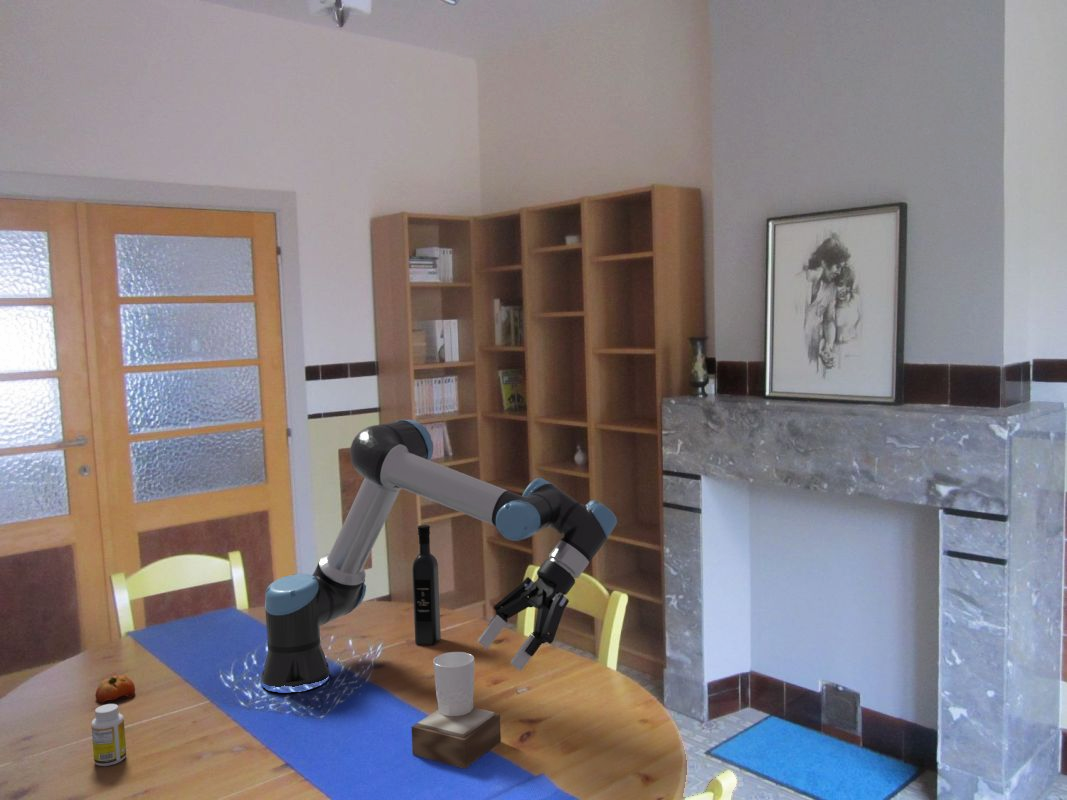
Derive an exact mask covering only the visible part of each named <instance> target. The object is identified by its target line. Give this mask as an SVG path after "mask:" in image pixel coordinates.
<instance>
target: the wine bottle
mask: <svg viewBox="0 0 1067 800" xmlns="http://www.w3.org/2000/svg"><path fill="white" fill-rule="evenodd" d="M417 535H418V548H419V549H418V555H417V556H416V557H415V558H414V560H413V562H412V568H411V569H412V590H413V591H412V597H413V617H414V618H413V619H414V621H413V623H414V643H415V645H418V646H435V645H437V644H438V642H439V641H440V640H441V638H442V637H441V611H440V610H441V608H440V605H441V603H440V584H439V583H440V582H439V580H440V579H439V562H438V560H437V558H436V556H434V555H433V554H431V545H430V544H431V540H430V539H431V538H430V535H431V525H428V524H422V525H418V526H417Z"/></svg>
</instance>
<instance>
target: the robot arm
mask: <svg viewBox="0 0 1067 800" xmlns="http://www.w3.org/2000/svg"><path fill="white" fill-rule="evenodd" d="M349 450H350V451H349V457H350V461H351V464H352V467H353V468H354V469H355V471H356V472H357V473H358V474H359V475H360V476H361V477H363V478H364V479H363V481H362V482H361V484H360V488H359V490H358V491H357V493H356V496H355V498H354V500H353V502H352V505H351V507H350V510H349V511H348V514H347V516H346V518H345V520H344V522H343V524H342V527H340V528H341V529H340V531H339V533H338V535H337V537H336V539H335V542H334V544H333V546H332V548H331V550H330V553H326V554H324V555H323V556H322V557H320V559H319V561H318V563H317V566H316V567H315V570H314V572H313V574H309V573H296V574H295V573H294V574H291V575H286V576H282V577H280V578H278V579H276V580H274V581H273V582H271V583H270V584H269V585H268V586H267V588H266V590H265V601H264V609H265V623H266V635H267V636H266V637H267V638H266V639H267V654H266V659H265V661H264V667H263V670H262V671H261V683H262V682H263V683H264V684H266V685H268V686H275V687H281V686H284V685H285V686H292V687H295V686H299V685H303V684H311V683H315V682H319V681H322V680H324V679H326V678H327V677H328V676H329V674H330V675H331V669H330V664H329V663H328V662H327V658H326V656H325V652H324V650H323V648H322V645H321V626H324V625H325V624H328V623H330V622H331V621H334V620H336V619H338V618H340V617H342V616H345V615H347V614H349V613H352V611H354V610H355V609H356V608H357V607H359V605H360V604H361V603H362V602H363V601H364V599H365V596H366V591H367V585H366V584H365V583H366V572H365V569H364V567H365V565H366V563H367V561H368V558H369V557H370V555H371V552H372V550H373V548H374V545H375V543H376V541H377V540H378V537H379V535H380V534H381V531H382V528H384V524H385V523H386V520H387V519H388V516H389V514H390V512H391V510H392V508H393V505H394V504H395V501H396V499H397V497H398V495H399V493H400V491H401V490H404V491H407V492H409V493H412V494H415V495H418V496H420V497H422V498H424V499H427V500H429V501H432V502H435V503H437V504H439V505H442V506H444V507H447V508H449V509H452V510H454V511H456V512H459V513H462V514H464V515H466V516H469V517H471V518H475V519H476V520H478V521H481V522H484V523H487V524H489V525H492V526H495V527H496V529H497V531H498V532H499V533H500V535H501V536H502V537H503V538H504V539H506V540H508V541H513V542H516V541H517V542H518V541H521V540H525V539H528V538H531V537H532V536H534V535H535V534H537V533H538V532H540V531H543V530H545V529H546V528H548V527H550V528H552V529H553V530H554V531H556V532H558V533H559V534H560V535H563V536H562V538H561V539H560V540H559V542H557V544H556V545H555V547H553V549H552V550H551V551H550V553H549V554H548V558H549V559H548V558H547V559H545V560H544V561H543V563H542V564H541V566H539V568H538V569H537V571H536V575H537V579H536V580H535V581H533V580H532V579H531V578H530V577H529V576H528V577H525V578H524V579H523V581H522V582H521V583H520V584H519V585H518V586H517V587H515V588H514V589H513V590H512V591H511V592H509V593H508V594H507V595H506V596H504V597H503V598H501V600H499V601H498V602H497V603H496V604H495V605H494V606H493V609H494V611H495V615H494V616H493V618H492V619H491V620H490V622H489V624H487V627H486V628H485V630H483V632H482V634H481V635H480V636H479V638H477V640H476V641H477V642H478V643H479V644H480V645H481V646H483V648H484V649H486V650H488V649H489V647H490V646H491V645H492V643H494V641H495V639H496V638H497V636H499V634H500V633H501V631H502V630H503V629H504V627H505V626H506V625H507V623H508V619H510V618H511V617H513V616H516V615H517V614H518V613H520V612H522V611H524V610H527V609H528V608H535V609H537V614H536V620H535V627H534V631H533V632H531V634H529V635H528V637H527V638H526V639H525V641H524V642H523V643H522V645H521V646H520V647H519V649H518V651H517V652H516V653H515V655H514V656H513V657H512V659H511V660H510V661H509V663H510V664H511V665H512V666H513V667H514V668H515V669H517V670H518V671H519V672H521V671H522V670H523V668H524V667H525V666H526V665H527V663H528V662H529V661H530V659H531V658H532V657H533V656H534V655H535V654H536V653H537V651H538V649H539V648H540V647H541V646H542V644H546V643H548V644H552V643H554V639H555V637H556V634H557V631H558V628H559V626H560V622H561V619H562V617H563V613H564V611H565V609H566V607H567V606H568V604H569V602H570V600H569V598H567V597H566V595H567V594H568V593H569V592H570V590H571V589H572V588H573V587H574V585H575V583H576V579H579V578H580V576H581V575H582V574H583V573H584V571H585V569H586V568H587V567H588V565H589V564H590V563H591V561H592V560H593V559H594V557H595V556H596V554H597V553H598V552H599V550H600V549H601V548H602V547H603V545H604V544H605V543H606V542H607V540H608V539H609V536H610V535H611V533H612V532H613V530H614V529H615V527H616V526H617V524H618V521H617V520H618V518H617V516H616V515H615V513H614V512H613V511H612V510H611V509H609V508H608V507H607V506H606V505H604V504H602V502H599V501H597V500H594V499H593V500H589V501H588V503H586V504H585V505H584V504H582V503H581V502H578V500H577V499H574V498H573V497H571V496H570V495H568V494H567V493H566V492H564V491H563V490H561V489H560V488H558V487H557V486H556V485H555V484H554V483H551V482H549V481H547V480H546V479H544V478H541V477H537V478H535V479H534V480H532V482H530V483H529V484H528V485H527V486H526V488H525V490H524V491H523V493H522V495H520V494H517V493H516V492H515V493H514V492H512V491H509V490H507V489H505V488H503V487H499V486H497V485H494V484H492V483H489V482H487V481H484V480H482V479H479V478H476V477H474V476H471V475H469V474H466V473H463V472H460V471H458V470H456V469H453V468H451V467H447V466H446V465H445V466H444V465H442V464H440V463H437V462H434V461H432V460H431V459H432V458H433V455H434V443H433V440H432V437H431V433H430V432H429V430H428V429H427V428H426V426H424V425H423V424H422V423H420V422H418V421H416V420H413V419H398V420H395V421H392V422H388V423H381V424H376V425H375V424H374V425H371V426H368V427H365V428H363V429H362V430H361V431H359V433H358V434H357V435H356V436H355V437H354V439H353V440H352V441H351V445H350V449H349Z"/></svg>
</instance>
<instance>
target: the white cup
mask: <svg viewBox="0 0 1067 800" xmlns="http://www.w3.org/2000/svg"><path fill="white" fill-rule="evenodd" d="M432 661H433V663H432V664H433V671H434V672H433V674H434V684H435V692H436V693H435V694H436V700H437V708H438V709H437V710H439V713H441V714H442V715H445V716H453V717H454V716H462V715H466V714H468V713H470V712H471V711H472V709H473V707H474V694H475V656H474V655H472V654H470V653H468V652H464V651H451V652H444V653H441V654H439V655H436V656H435V657H434V658H433V660H432Z"/></svg>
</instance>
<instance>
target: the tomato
mask: <svg viewBox="0 0 1067 800" xmlns="http://www.w3.org/2000/svg"><path fill="white" fill-rule="evenodd" d="M135 692H136V687H135V684H134V682H133V681H132V680H131V678H129V677H128V676H126V675H111V676H110V677H107V678H105V679H104V680H103V681H101V682H100V683H99V684H98V686H97V689H96V691H95V694H94V695H95V700H96V701H97V703H98V704H99V703H103V702H106V701H108V700H110V701H114V700H116V699H118V698H120V697H122V696H124V697H127V698H126V701H127V700H129V699H130V698H132V697H134V696H135V694H136V693H135Z"/></svg>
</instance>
